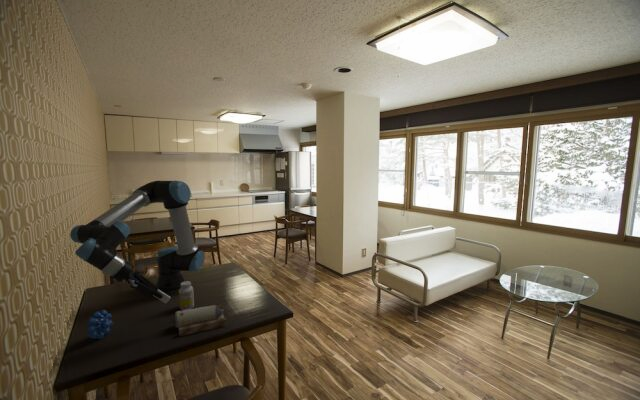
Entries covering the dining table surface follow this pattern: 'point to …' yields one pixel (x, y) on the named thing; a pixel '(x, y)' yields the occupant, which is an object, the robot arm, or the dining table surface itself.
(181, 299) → the supplement bottle
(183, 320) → the aerosol can
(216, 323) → the cradle
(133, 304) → the dining table surface
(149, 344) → the dining table surface
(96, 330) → the grapes
